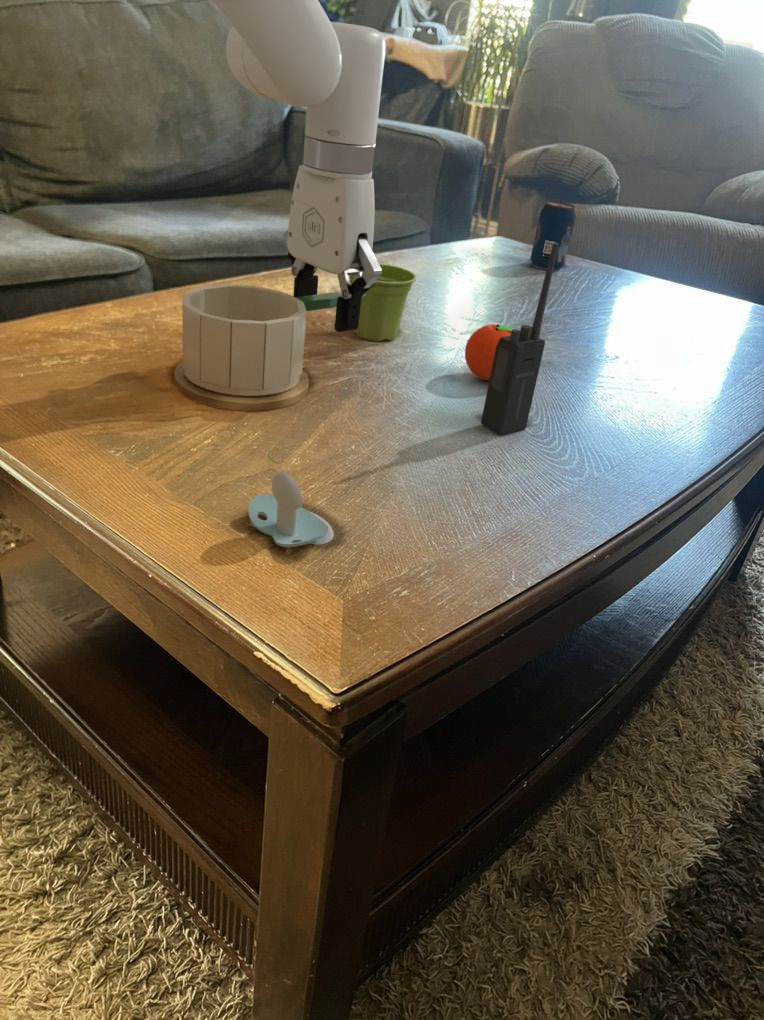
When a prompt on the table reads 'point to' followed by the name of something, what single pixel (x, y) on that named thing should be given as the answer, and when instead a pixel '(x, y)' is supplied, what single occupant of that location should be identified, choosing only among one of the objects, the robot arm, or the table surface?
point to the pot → (246, 337)
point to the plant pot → (384, 304)
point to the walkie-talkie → (516, 370)
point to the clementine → (484, 349)
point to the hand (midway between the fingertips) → (324, 318)
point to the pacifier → (288, 515)
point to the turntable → (237, 400)
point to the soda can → (553, 234)
